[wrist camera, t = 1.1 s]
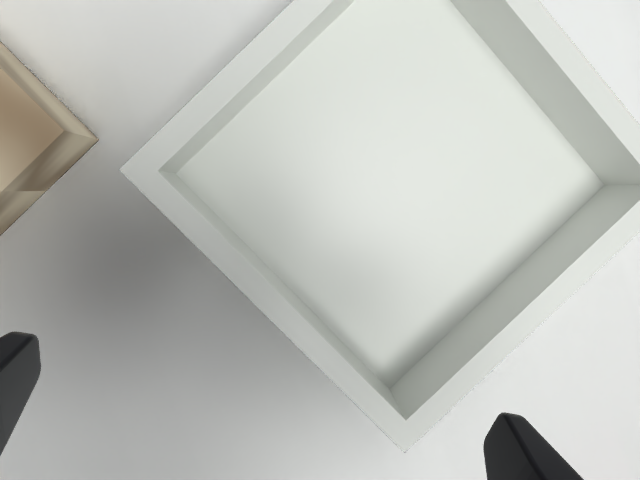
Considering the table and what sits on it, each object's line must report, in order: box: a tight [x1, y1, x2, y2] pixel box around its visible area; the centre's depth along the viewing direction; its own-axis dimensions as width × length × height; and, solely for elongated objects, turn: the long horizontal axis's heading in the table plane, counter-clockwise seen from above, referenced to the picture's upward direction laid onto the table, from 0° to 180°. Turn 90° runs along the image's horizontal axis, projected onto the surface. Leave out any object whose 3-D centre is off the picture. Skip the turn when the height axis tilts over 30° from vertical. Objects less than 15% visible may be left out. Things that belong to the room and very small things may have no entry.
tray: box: [119, 0, 640, 453], centre depth 21 cm, size 16×16×4 cm
